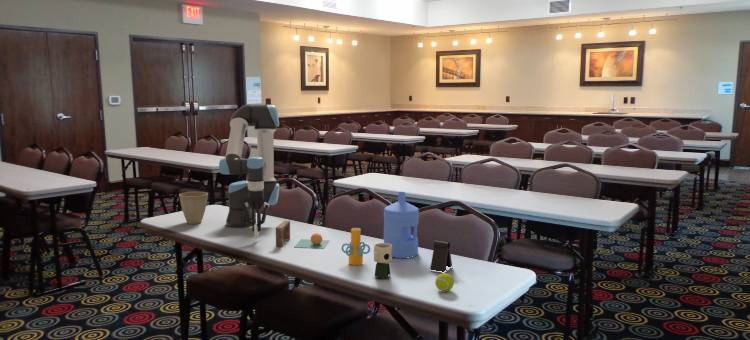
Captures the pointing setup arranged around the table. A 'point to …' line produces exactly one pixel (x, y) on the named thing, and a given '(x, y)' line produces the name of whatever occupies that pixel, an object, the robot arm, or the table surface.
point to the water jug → (401, 227)
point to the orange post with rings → (355, 247)
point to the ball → (316, 239)
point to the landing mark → (310, 244)
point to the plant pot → (193, 206)
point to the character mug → (382, 259)
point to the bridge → (282, 233)
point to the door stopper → (441, 256)
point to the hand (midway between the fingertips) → (256, 237)
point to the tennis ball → (444, 282)
